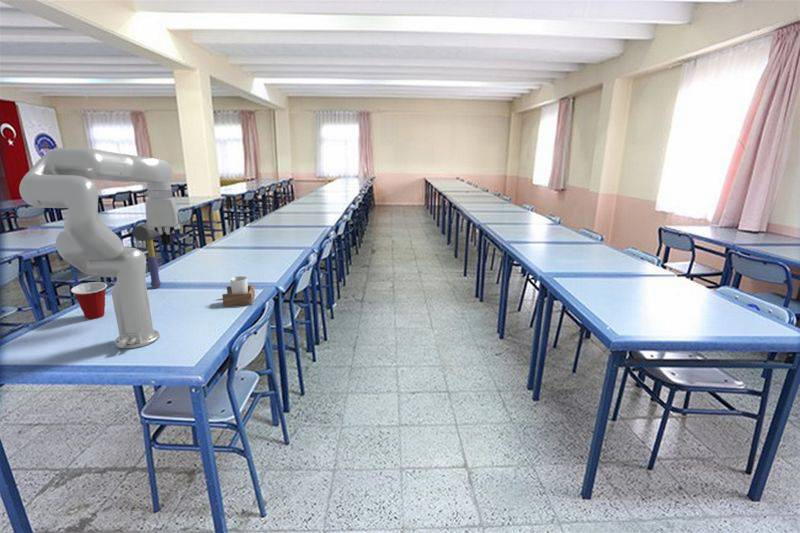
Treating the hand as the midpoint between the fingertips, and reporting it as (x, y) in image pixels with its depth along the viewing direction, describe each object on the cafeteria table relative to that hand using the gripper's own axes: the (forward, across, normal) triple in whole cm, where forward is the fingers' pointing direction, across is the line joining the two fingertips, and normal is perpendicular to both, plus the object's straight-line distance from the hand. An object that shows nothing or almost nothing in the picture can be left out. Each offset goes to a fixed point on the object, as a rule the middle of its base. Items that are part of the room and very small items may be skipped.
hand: (167, 244), depth 154 cm
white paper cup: (+27, +23, +8) cm, 36 cm away
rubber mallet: (+27, -17, +33) cm, 46 cm away
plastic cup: (+27, -28, 0) cm, 39 cm away
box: (+27, +22, +8) cm, 36 cm away
